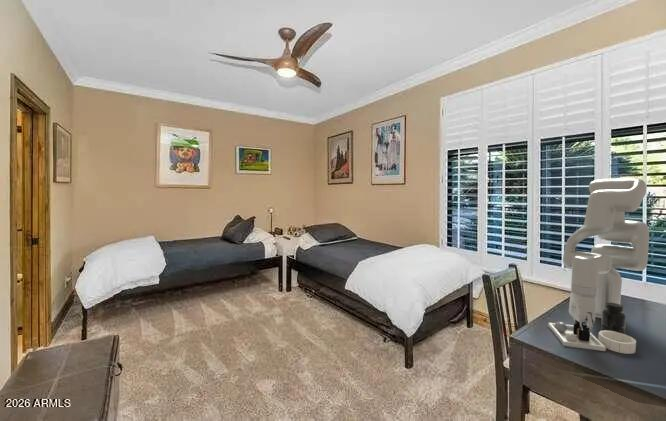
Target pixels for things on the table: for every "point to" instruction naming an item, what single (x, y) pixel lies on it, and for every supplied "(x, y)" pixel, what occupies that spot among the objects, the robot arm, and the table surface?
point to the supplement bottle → (613, 318)
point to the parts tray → (590, 344)
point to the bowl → (617, 341)
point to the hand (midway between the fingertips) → (581, 337)
